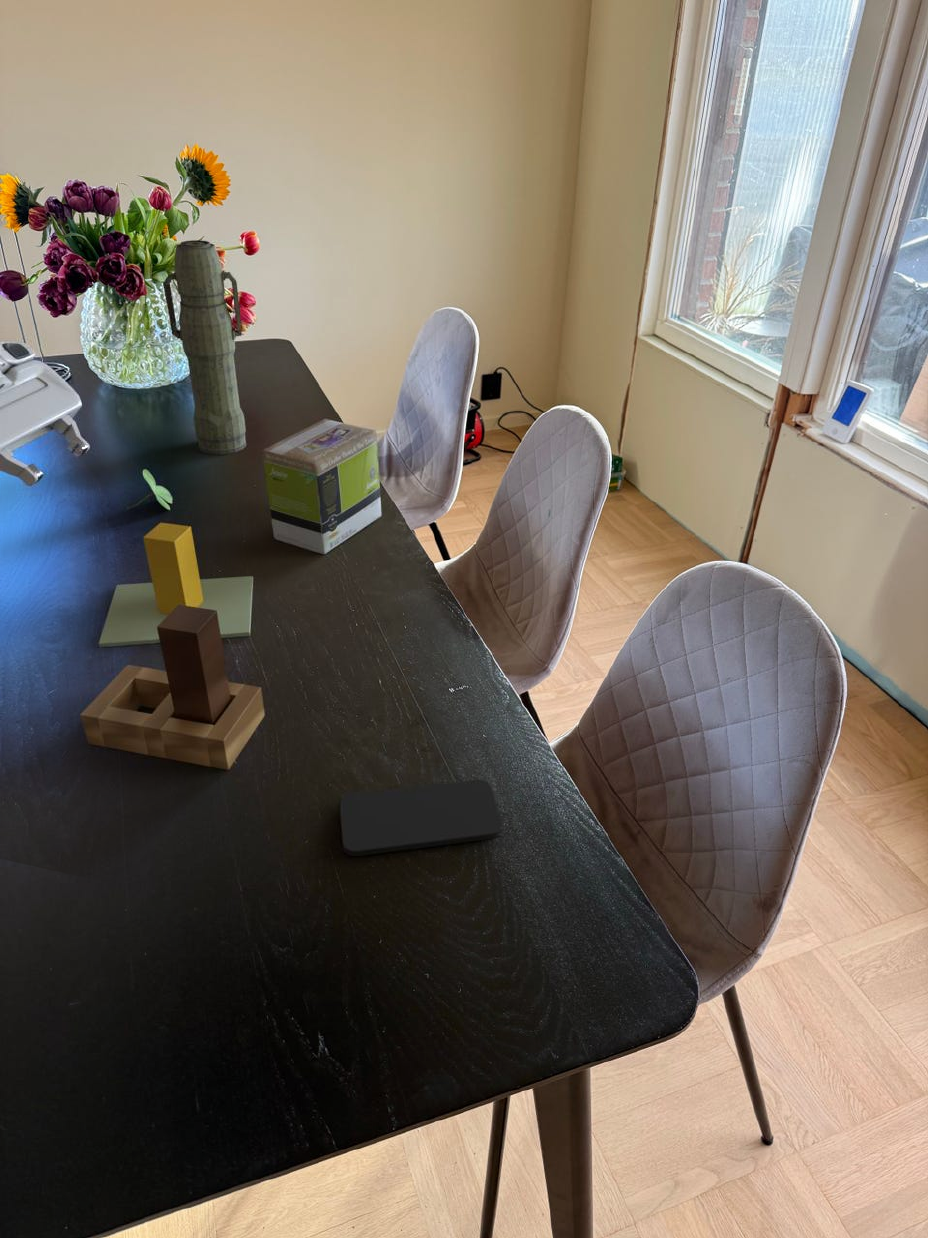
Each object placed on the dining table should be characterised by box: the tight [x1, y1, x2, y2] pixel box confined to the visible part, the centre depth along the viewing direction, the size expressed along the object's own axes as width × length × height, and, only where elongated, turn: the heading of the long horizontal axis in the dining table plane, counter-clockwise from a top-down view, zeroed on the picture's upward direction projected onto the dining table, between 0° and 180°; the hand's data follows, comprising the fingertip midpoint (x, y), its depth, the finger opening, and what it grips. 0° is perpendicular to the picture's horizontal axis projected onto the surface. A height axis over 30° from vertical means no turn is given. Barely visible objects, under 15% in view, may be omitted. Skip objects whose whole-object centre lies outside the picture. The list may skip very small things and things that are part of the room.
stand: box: [79, 664, 266, 771], centre depth 91 cm, size 16×9×4 cm, turn 77°
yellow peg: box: [143, 522, 203, 614], centre depth 108 cm, size 4×4×11 cm
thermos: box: [162, 239, 247, 456], centre depth 149 cm, size 9×12×35 cm
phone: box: [339, 779, 503, 857], centre depth 82 cm, size 7×1×15 cm
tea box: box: [262, 418, 382, 555], centre depth 128 cm, size 15×10×15 cm, turn 150°
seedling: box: [124, 469, 173, 512], centre depth 136 cm, size 7×8×6 cm
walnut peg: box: [157, 605, 231, 725], centre depth 88 cm, size 4×4×15 cm
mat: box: [98, 575, 254, 648], centre depth 112 cm, size 18×14×1 cm
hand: (61, 466), depth 103 cm, fingers open, 8 cm apart
